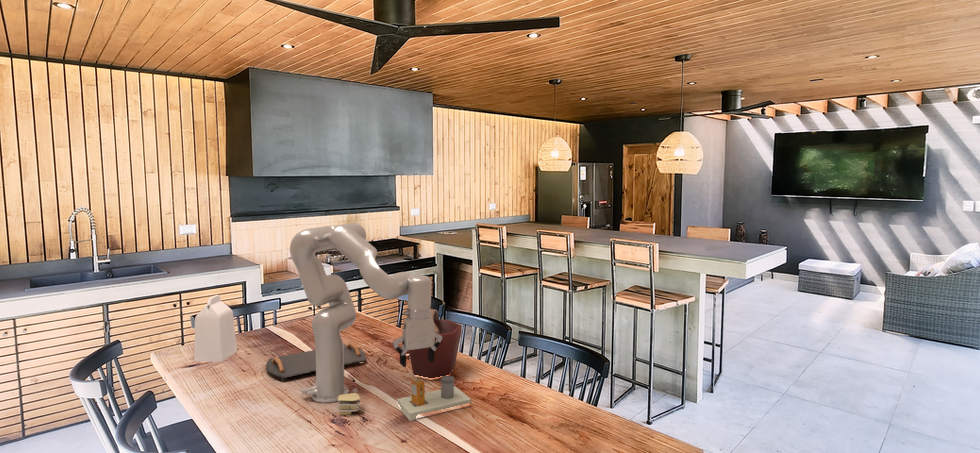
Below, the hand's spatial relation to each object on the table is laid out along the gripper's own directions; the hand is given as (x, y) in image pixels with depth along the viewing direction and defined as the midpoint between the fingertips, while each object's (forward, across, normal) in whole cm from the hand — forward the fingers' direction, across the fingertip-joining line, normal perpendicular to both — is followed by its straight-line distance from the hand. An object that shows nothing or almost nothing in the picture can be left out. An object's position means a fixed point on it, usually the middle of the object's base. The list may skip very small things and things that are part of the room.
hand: (417, 363), depth 166 cm
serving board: (+19, -21, +56) cm, 63 cm away
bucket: (+16, +17, +27) cm, 36 cm away
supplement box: (+16, +1, -1) cm, 16 cm away
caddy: (+16, +6, -1) cm, 17 cm away
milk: (+20, -57, +86) cm, 105 cm away
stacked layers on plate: (+17, -20, +8) cm, 28 cm away
